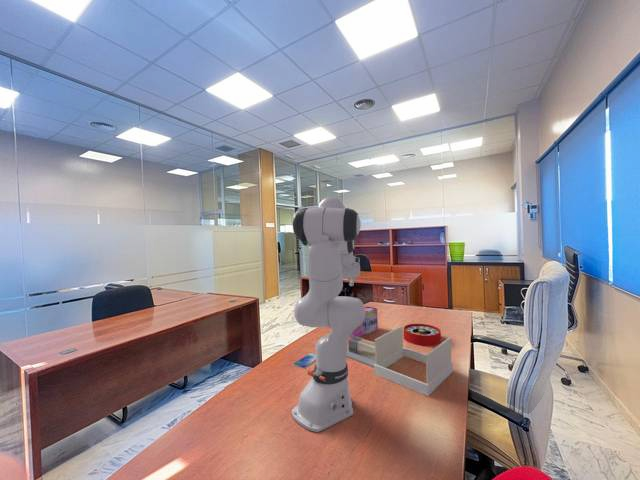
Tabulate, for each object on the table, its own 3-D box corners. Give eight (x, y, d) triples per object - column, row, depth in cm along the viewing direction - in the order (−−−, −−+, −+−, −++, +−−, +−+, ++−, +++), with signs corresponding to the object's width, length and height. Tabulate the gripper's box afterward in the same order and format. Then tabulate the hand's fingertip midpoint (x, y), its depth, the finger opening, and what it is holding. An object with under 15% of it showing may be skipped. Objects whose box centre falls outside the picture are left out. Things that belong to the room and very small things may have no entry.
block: (378, 362, 125) (377, 349, 125) (348, 351, 138) (348, 339, 138) (385, 357, 130) (385, 345, 130) (356, 347, 143) (356, 336, 143)
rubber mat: (377, 369, 120) (377, 367, 120) (338, 353, 137) (338, 352, 137) (396, 357, 131) (396, 356, 131) (357, 344, 148) (357, 343, 148)
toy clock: (409, 336, 143) (399, 324, 163) (409, 346, 143) (399, 333, 163) (446, 335, 143) (432, 323, 163) (447, 346, 143) (432, 332, 163)
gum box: (353, 339, 155) (352, 316, 155) (343, 336, 161) (343, 314, 161) (378, 329, 171) (377, 308, 171) (368, 326, 177) (367, 306, 177)
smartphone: (322, 355, 135) (304, 368, 122) (322, 357, 135) (304, 370, 122) (311, 352, 139) (292, 363, 127) (311, 353, 139) (292, 365, 127)
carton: (427, 396, 99) (426, 356, 99) (374, 373, 116) (373, 339, 116) (453, 371, 116) (452, 337, 116) (402, 354, 133) (402, 325, 133)
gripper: (335, 262, 123) (335, 291, 123) (361, 258, 137) (362, 285, 137) (325, 261, 128) (326, 290, 128) (352, 258, 142) (353, 283, 142)
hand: (345, 287), depth 133 cm, fingers open, 8 cm apart
